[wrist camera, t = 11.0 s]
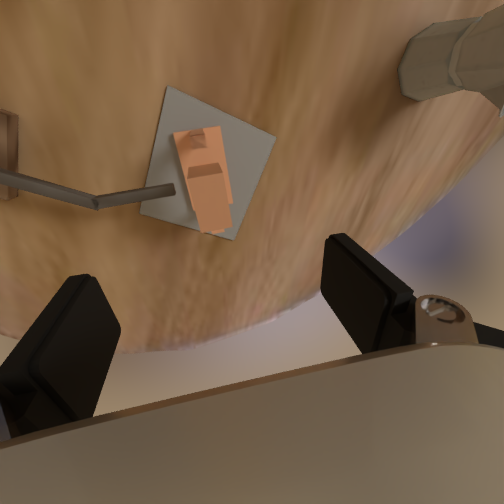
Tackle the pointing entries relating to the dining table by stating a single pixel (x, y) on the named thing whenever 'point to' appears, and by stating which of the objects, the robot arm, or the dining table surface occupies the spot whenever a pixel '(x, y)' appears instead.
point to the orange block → (206, 176)
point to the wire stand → (9, 181)
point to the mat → (236, 152)
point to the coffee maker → (456, 59)
